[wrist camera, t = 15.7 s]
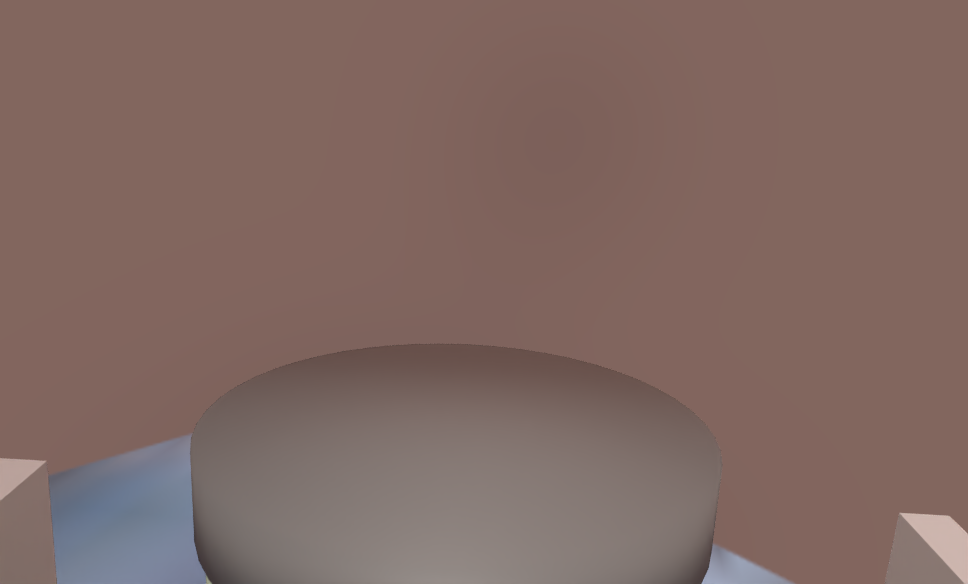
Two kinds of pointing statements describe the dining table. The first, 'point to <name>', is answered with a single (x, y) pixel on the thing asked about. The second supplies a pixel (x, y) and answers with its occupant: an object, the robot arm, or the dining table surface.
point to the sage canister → (452, 473)
